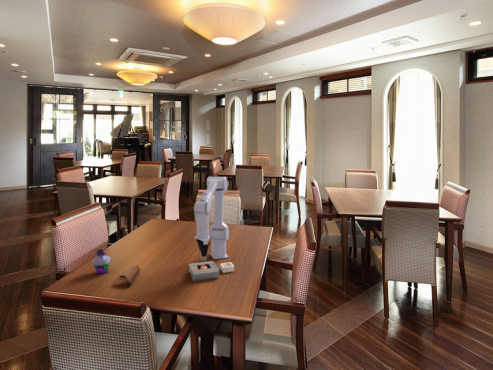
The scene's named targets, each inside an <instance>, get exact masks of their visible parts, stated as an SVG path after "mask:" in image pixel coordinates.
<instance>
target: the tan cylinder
mask: <svg viewBox="0 0 493 370" xmlns="http://www.w3.org/2000/svg"><path fill="white" fill-rule="evenodd" d="M199 253H200V254H199V255H200V257H199V259H200V261H201V262H207V256H204V257H202V255H201V250H199Z"/></svg>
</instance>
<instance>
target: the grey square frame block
mask: <svg viewBox="0 0 493 370" xmlns="http://www.w3.org/2000/svg"><path fill="white" fill-rule="evenodd" d="M202 266H206V267H207V269H201V270H200V267H202ZM188 270H189V271H188V272H189V274H190V277H191V279H192V281H193V282H199V281H200V282H201V281H206V280H214V279H220V269H219V267H218V266H217V264H216V263H215V261H214V260H210V261H201V262H192V263H188Z"/></svg>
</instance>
